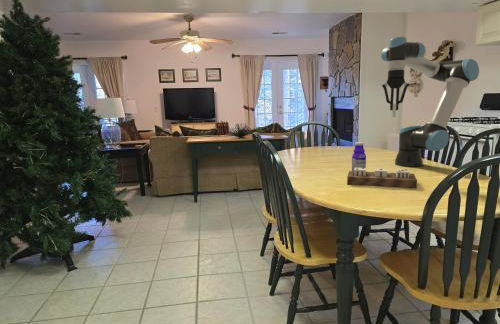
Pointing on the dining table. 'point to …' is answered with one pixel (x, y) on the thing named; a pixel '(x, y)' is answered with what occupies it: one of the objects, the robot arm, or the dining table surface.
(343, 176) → the dining table surface
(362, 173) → the key two
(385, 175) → the cream block
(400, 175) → the key three
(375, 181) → the keyboard base
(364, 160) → the bottle
